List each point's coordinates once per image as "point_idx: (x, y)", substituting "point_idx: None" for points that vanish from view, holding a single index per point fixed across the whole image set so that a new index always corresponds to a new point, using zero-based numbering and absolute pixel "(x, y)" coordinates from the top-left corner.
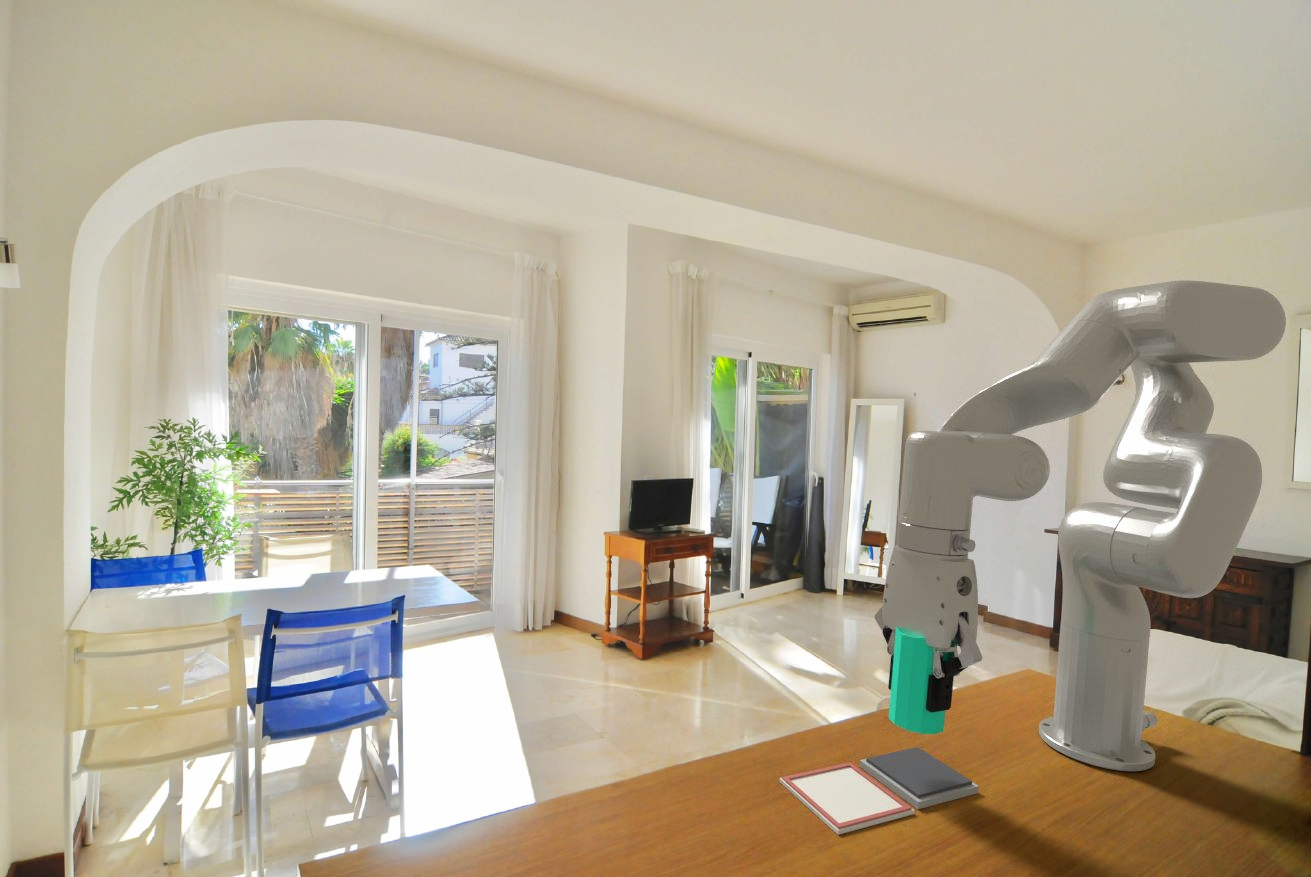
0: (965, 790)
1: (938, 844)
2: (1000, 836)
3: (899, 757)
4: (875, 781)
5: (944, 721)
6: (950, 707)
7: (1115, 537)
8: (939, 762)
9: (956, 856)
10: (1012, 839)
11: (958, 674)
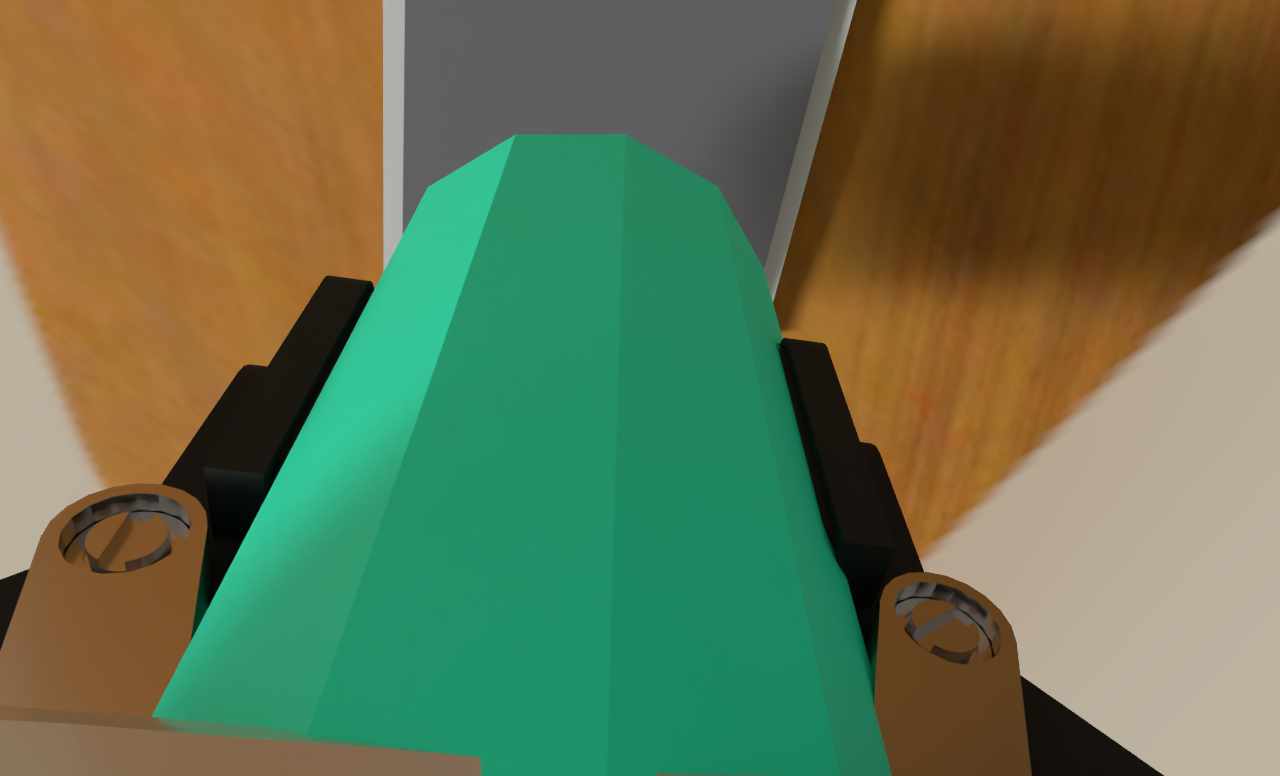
0: (840, 56)
1: (920, 434)
2: (1076, 199)
3: (463, 128)
4: None
5: (733, 225)
6: (824, 345)
7: None
8: None
9: (992, 437)
10: (1122, 173)
11: (989, 612)
